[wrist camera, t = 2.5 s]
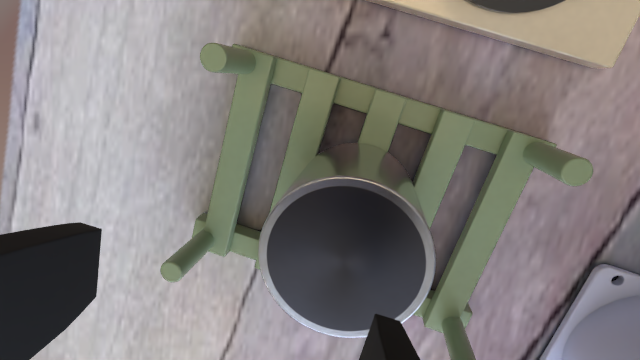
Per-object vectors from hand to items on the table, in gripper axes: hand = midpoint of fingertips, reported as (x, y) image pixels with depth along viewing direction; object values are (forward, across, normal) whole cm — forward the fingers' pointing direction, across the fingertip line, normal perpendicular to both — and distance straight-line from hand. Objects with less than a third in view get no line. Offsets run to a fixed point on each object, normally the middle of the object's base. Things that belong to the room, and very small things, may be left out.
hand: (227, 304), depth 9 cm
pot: (+9, -3, -1) cm, 9 cm away
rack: (+10, -3, -1) cm, 11 cm away
